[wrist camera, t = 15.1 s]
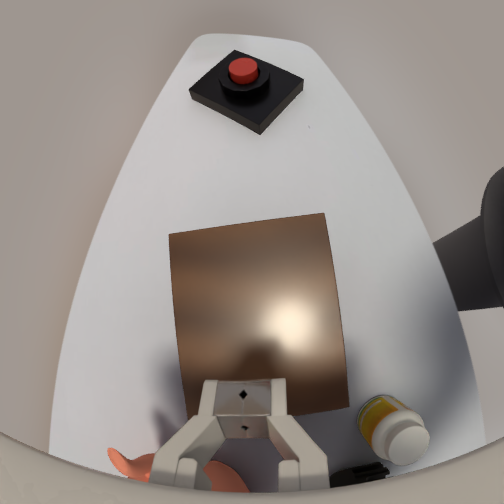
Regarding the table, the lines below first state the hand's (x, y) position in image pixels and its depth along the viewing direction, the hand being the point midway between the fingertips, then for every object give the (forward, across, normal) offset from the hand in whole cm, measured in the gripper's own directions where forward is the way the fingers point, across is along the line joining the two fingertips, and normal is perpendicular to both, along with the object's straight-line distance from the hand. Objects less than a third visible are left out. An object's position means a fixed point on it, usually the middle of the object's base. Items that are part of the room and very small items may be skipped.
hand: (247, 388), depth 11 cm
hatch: (+11, +1, +6) cm, 12 cm away
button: (+35, +1, -13) cm, 37 cm away
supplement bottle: (+10, -12, +22) cm, 26 cm away
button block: (+37, +1, -10) cm, 39 cm away
